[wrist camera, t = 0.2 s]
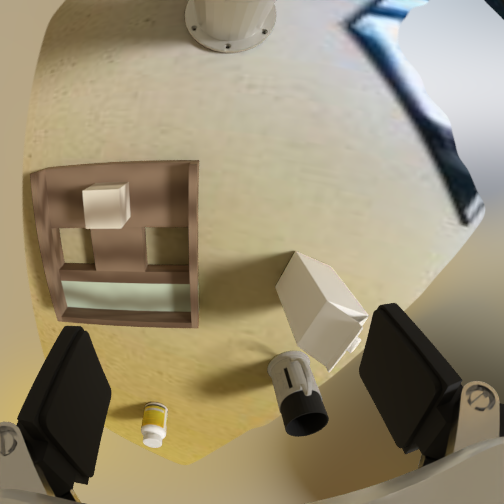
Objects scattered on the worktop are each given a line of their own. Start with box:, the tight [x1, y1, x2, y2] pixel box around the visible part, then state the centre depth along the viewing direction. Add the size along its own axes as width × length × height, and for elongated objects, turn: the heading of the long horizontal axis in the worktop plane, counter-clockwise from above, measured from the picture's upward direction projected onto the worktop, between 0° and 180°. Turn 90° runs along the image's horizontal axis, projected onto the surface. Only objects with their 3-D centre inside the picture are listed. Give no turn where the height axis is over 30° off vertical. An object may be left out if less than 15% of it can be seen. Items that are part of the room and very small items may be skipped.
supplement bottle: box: [141, 402, 168, 448], centre depth 55 cm, size 5×5×10 cm
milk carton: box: [275, 251, 369, 372], centre depth 42 cm, size 7×7×19 cm
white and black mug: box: [267, 351, 329, 437], centre depth 51 cm, size 9×14×15 cm, turn 2°
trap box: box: [30, 160, 199, 328], centre depth 41 cm, size 24×24×6 cm
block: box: [82, 182, 131, 229], centre depth 37 cm, size 5×5×5 cm
